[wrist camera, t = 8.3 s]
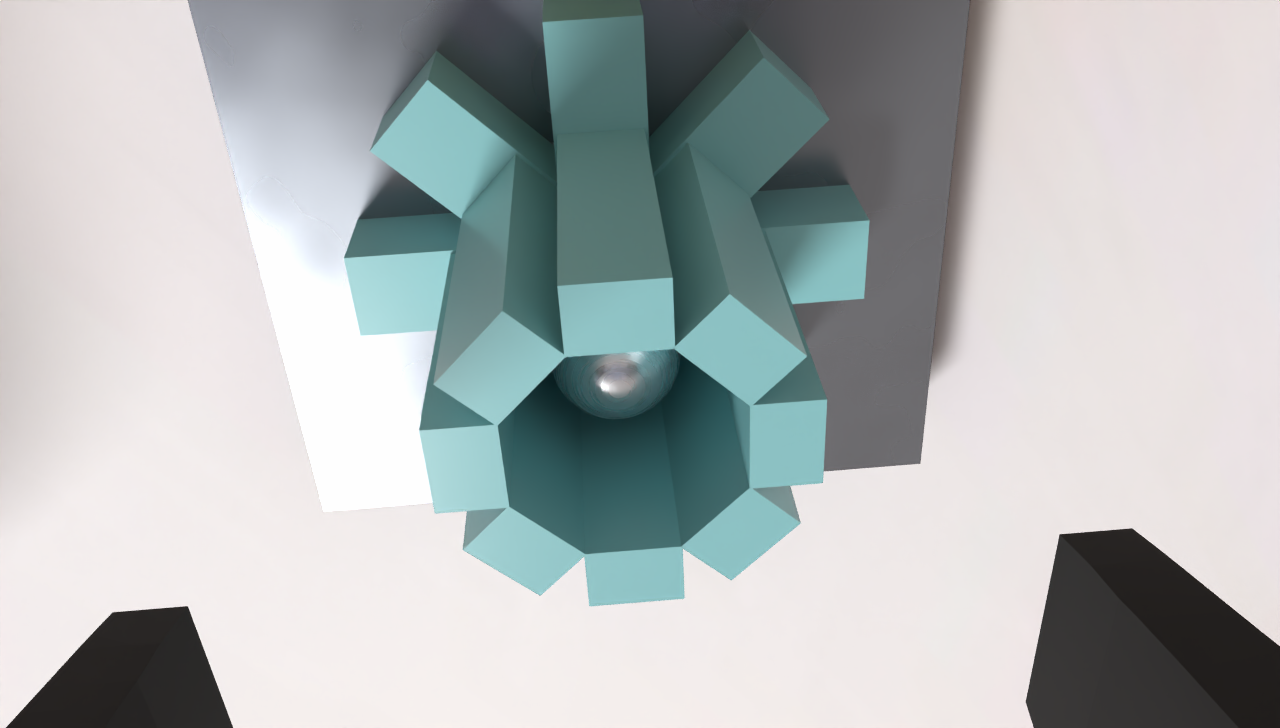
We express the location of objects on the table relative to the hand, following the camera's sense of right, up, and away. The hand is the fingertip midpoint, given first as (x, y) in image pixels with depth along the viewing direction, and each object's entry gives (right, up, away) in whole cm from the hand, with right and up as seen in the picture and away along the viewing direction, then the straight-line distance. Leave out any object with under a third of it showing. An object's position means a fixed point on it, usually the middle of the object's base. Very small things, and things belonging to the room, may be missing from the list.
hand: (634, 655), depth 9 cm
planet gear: (0, +4, +7) cm, 8 cm away
